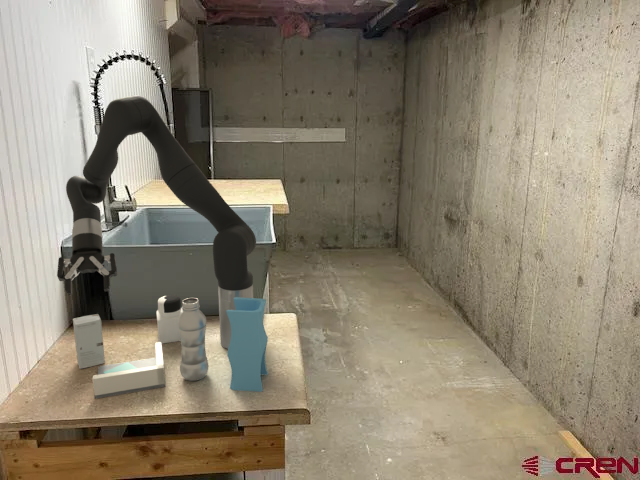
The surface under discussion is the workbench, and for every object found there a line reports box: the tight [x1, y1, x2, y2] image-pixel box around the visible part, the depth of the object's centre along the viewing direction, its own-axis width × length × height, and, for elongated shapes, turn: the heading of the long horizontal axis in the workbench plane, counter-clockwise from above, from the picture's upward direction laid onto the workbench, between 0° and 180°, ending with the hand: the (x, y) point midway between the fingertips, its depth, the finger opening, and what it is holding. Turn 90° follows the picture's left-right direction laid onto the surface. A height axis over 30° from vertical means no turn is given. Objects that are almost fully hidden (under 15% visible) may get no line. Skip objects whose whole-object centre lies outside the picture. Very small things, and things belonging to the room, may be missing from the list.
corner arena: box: [92, 341, 166, 399], centre depth 114 cm, size 15×13×5 cm
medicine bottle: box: [155, 294, 184, 345], centre depth 133 cm, size 7×7×12 cm
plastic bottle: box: [178, 297, 210, 382], centre depth 113 cm, size 6×7×20 cm
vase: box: [226, 297, 269, 393], centre depth 111 cm, size 8×8×20 cm
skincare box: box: [72, 313, 106, 370], centre depth 119 cm, size 6×4×12 cm
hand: (88, 292), depth 125 cm, fingers open, 8 cm apart
